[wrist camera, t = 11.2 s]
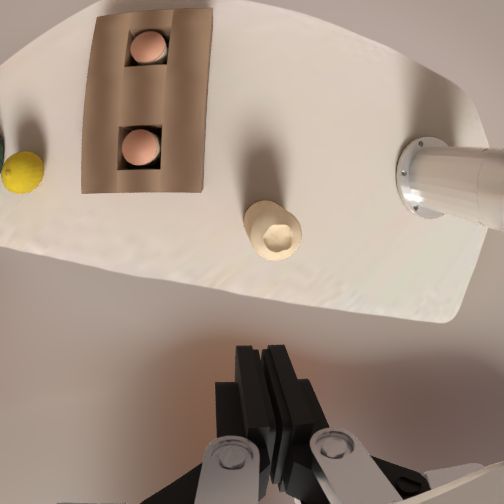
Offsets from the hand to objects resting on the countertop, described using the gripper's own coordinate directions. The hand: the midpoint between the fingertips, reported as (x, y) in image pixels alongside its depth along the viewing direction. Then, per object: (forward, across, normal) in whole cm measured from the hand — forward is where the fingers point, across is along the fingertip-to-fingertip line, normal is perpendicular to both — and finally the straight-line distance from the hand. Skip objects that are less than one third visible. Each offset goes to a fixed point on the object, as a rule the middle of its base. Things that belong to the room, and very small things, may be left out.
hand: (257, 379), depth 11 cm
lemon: (+32, +27, -7) cm, 43 cm away
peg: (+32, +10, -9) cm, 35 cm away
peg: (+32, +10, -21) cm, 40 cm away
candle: (+32, -5, 0) cm, 33 cm away
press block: (+32, +10, -15) cm, 37 cm away
